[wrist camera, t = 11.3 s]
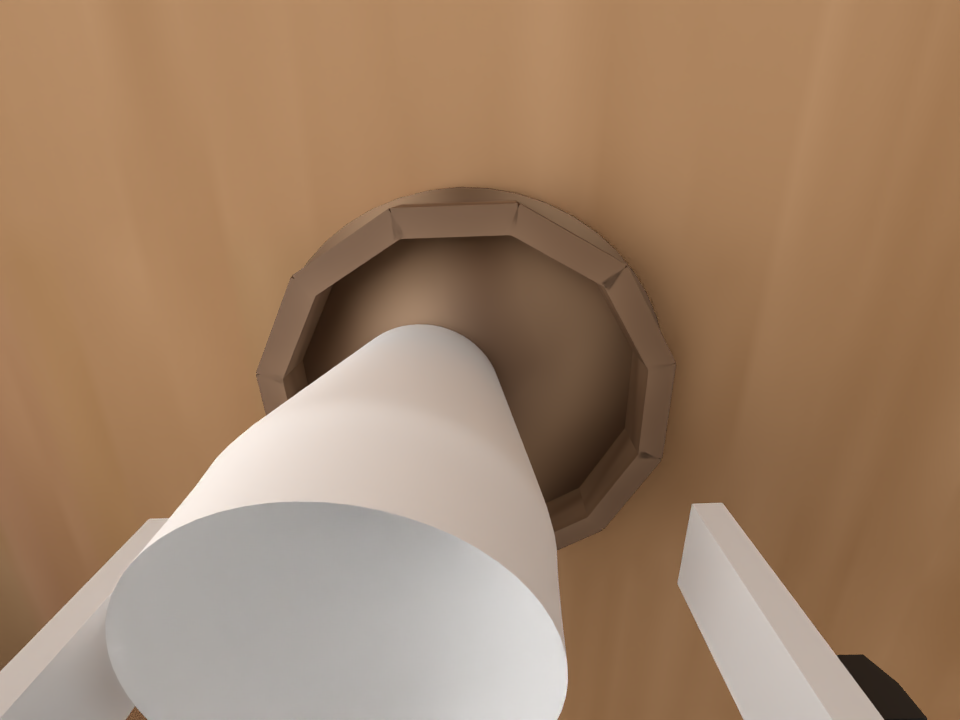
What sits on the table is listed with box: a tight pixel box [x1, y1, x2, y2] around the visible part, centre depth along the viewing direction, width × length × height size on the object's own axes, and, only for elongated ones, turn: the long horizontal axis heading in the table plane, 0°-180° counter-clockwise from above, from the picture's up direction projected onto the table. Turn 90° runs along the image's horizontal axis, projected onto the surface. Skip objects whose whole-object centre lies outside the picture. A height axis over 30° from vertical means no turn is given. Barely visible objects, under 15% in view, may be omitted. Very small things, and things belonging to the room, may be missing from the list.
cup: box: [105, 324, 568, 720], centre depth 14 cm, size 9×9×12 cm
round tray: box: [256, 187, 676, 550], centre depth 19 cm, size 17×17×3 cm
